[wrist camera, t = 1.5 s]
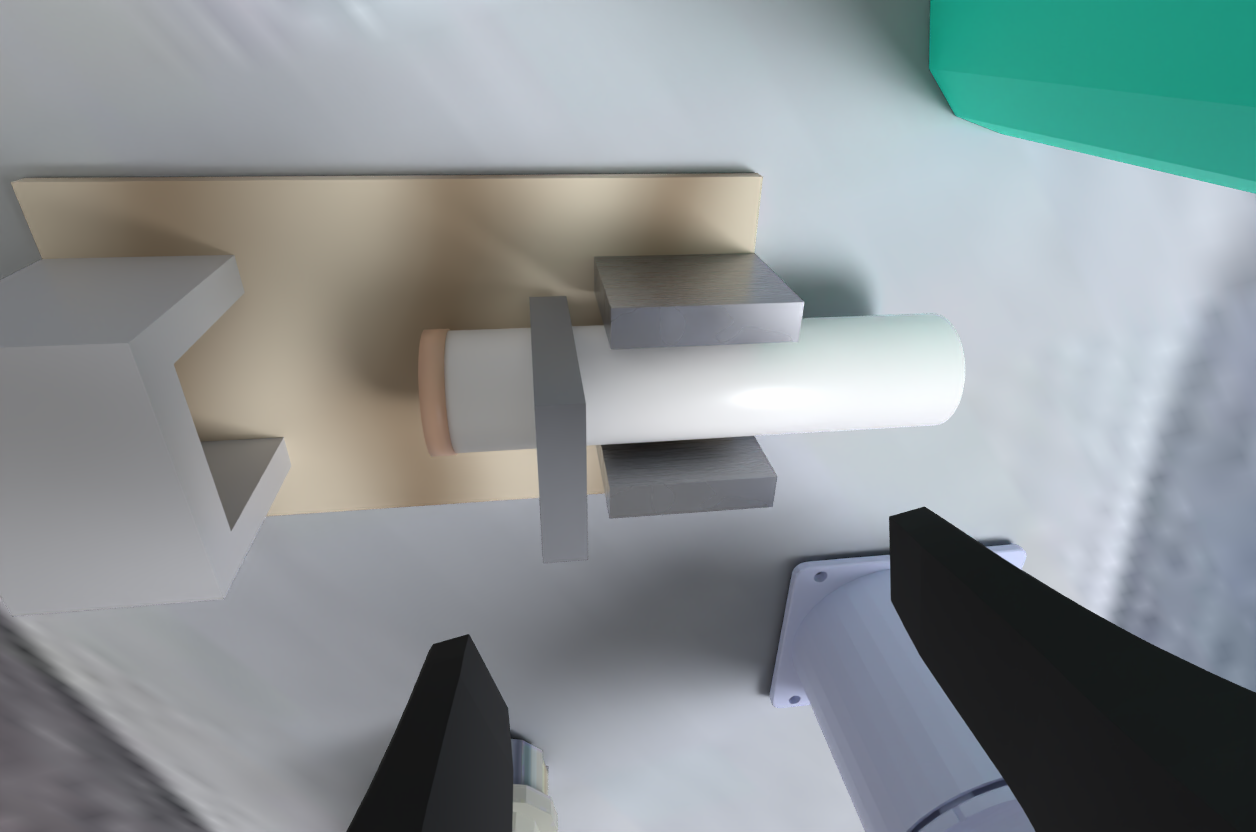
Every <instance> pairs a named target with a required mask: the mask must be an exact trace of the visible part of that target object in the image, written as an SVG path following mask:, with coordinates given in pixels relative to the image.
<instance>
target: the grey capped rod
mask: <svg viewBox="0 0 1256 832" xmlns="http://www.w3.org/2000/svg"><path fill="white" fill-rule="evenodd" d="M511 746H512V759H513V821H512V832H558V818H557V812H556V809H555V806H554V804H553V801H552V799H551V797H550V796H548V766H545V764H544V761H543V751H542V750H540V749H539V748H537V747H535V746H533V745H531V744H529V743H527V742H526V741H524V740H518V739H511Z"/></svg>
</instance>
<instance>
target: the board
mask: <svg viewBox="0 0 1256 832" xmlns="http://www.w3.org/2000/svg"><path fill="white" fill-rule="evenodd" d="M762 180H763V177H762V176H761V175H759V174H758V173H704V174H552V175H399V176H247V177H95V178H22V179H19V180H16V181H13V182H11V185H12V187H13V190H14V192H15V194H16V197H17V199H18V202H19V204H20V207H21V209H22V211H23V214H24V216H25V219H26V221H27V223H28V226H29V228H30V231H31V233H32V235H33V238H34V240H35V243H36V245H37V248H38V250H39V252H40V255H41V257H42V259H58V258H106V257H155V256H203V255H235V259H236V263H237V266H238V270H239V274H240V277H241V281H242V285H243V288H244V292H245V293H244V294H243V295H242V296H241V297H240V298H239V299H238V300H237V301H236V302H235V303H234V304H233V305H232V306H231V307H230V308H229V309H228V310H227V311H226V312H225V313H224V314H223V315H222V316H221V317H220V318H219V319H218V320H217V321H216V322H215V323H214V324H213V325H212V326H211V327H210V328H209V329H208V330H207V331H206V332H205V333H204V334H203V335H202V336H201V337H200V338H199V339H198V340H197V341H196V342H195V343H194V344H193V345H192V346H191V347H190V348H189V349H188V350H187V351H186V352H185V353H184V354H183V355H182V356H181V357H180V358H179V359H178V360H177V361H176V362H175V363H174V367H175V370H176V372H177V375H178V378H179V381H180V384H181V387H182V390H183V393H184V396H185V399H186V402H187V405H188V407H189V410H190V413H191V416H192V419H193V422H194V425H195V428H196V431H197V434H198V437H199V439H200V442H204V441H223V440H241V439H260V438H279V437H284V440H285V444H286V447H287V451H288V455H289V458H290V462H291V468H290V470H289V472H288V474H287V476H286V478H285V480H284V482H283V484H282V486H281V488H280V490H279V492H278V493H277V495H276V497H275V499H274V501H273V503H272V505H271V507H270V509H269V511H268V513H267V515H266V516H278V515H293V514H307V513H322V512H337V511H352V510H366V509H381V508H396V507H411V506H425V505H440V504H455V503H469V502H484V501H499V500H514V499H528V498H539V481H538V463H537V449H521V450H504V451H487V452H470V453H458V454H457V455H451V456H435V457H432V456H431V455H430V454H429V452H428V450H427V446H426V443H425V439H424V434H423V428H422V421H421V413H420V402H419V386H418V356H419V344H420V338H421V334H422V332H423V330H425V329H450V330H451V331H452V330H481V329H509V328H531V324H530V303H529V297H547V296H566V297H567V302H568V308H569V313H570V319H571V324H572V326H593V325H604V324H603V321H602V317H601V314H600V310H599V307H598V303H597V300H596V296H595V293H594V257H597V256H641V255H686V254H731V253H754V251H755V242H756V233H757V224H758V215H759V206H760V198H761V189H762ZM586 450H587V494H602V493H605V492H604V486H603V481H602V476H601V470H600V465H599V460H598V454H597V449H596V445H590V446H586Z"/></svg>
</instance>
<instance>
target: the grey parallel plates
mask: <svg viewBox="0 0 1256 832" xmlns="http://www.w3.org/2000/svg"><path fill="white" fill-rule="evenodd" d="M594 293H595V296H596V300H597V303H598V307H599V310H600V314H601V317H602V321H603V324H604V328H605V331H606V335H607V338H608V341H609V345H610V348H611V350H612V349H637V348H662V347H687V346H711V345H736V344H761V343H786V342H798V341H799V334H800V328H801V321H802V315H803V308H804V301H803V300H802V299H801V298H800V297H799V296H798V295H797V294H796V293H795V292H794V291H793V290H792V289H791V288H789V287H788V286H787V285H786V284H785V283H784V282H783V281H782V280H781V279H780V278H779V277H778V276H777V275H776V274H775V273H774V272H773V271H772V270H771V269H770V268H769V267H768V266H767V265H766V264H765V263H764V262H763V261H762V260H761V259H760V258H759V257H758V256H757V255H756V254H755V253H731V254H686V255H641V256H597V257H594ZM596 449H597V454H598V460H599V465H600V470H601V476H602V481H603V486H604V492H605V497H606V503H607V508H608V513H609V519H610V518H623V517H637V516H651V515H664V514H678V513H692V512H706V511H719V510H733V509H747V508H761V507H773V501H774V495H775V488H776V482H777V475H776V473H775V472H774V470H773V468H772V466H771V465H770V463H769V461H768V459H767V458H766V456H765V454H764V452H763V451H762V449H761V447H760V445H759V444H758V442H757V440H756V438H755V437H754V436H743V437H726V438H709V439H692V440H675V441H658V442H641V443H624V444H607V445H596Z"/></svg>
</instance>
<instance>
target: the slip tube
mask: <svg viewBox="0 0 1256 832" xmlns="http://www.w3.org/2000/svg"><path fill="white" fill-rule="evenodd" d="M529 303H530V324H531V328H509V329H481V330H452V331H451V330H450V329H425V330H423V332H422V334H421V338H420V344H419V356H418V386H419V402H420V413H421V421H422V428H423V434H424V439H425V443H426V446H427V450H428V452H429V454H430V455H431V456H432V457H435V456H451V455H457V454H458V453H470V452H487V451H504V450H521V449H537V463H538V481H539V499H540V518H541V536H542V554H543V563H554V562H567V561H579V560H588V531H587V450H586V446H590V445H607V444H624V443H641V442H658V441H675V440H692V439H709V438H726V437H743V436H760V435H777V434H795V433H812V432H829V431H846V430H863V429H880V428H897V427H914V426H931V425H939V424H942V423H944V422H945V421H947V420H948V419H949V418H950V417H951V416H952V415H953V413H954V412H955V410H956V409H957V407H958V404H959V402H960V399H961V396H962V393H963V389H964V382H965V359H964V353H963V348H962V344H961V341H960V339H959V336H958V334H957V332H956V330H955V328H954V327H953V325H952V324H951V323H950V322H949V321H948V320H947V319H946V318H945V317H943V316H941V315H938V314H933V313H930V314H902V315H874V316H846V317H818V318H802V321H801V328H800V334H799V341H798V342H786V343H761V344H736V345H711V346H687V347H662V348H637V349H612V350H611V348H610V345H609V341H608V338H607V335H606V331H605V328H604V325H593V326H572V324H571V319H570V313H569V308H568V302H567V297H566V296H547V297H529Z"/></svg>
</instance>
